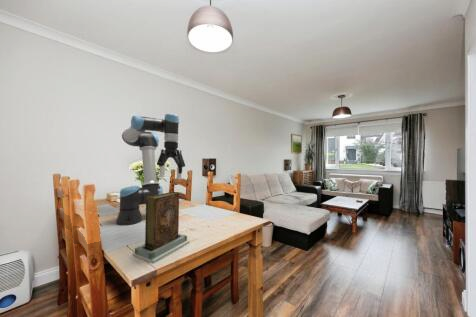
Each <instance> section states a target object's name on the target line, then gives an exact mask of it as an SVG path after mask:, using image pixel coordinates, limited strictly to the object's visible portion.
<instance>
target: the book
mask: <svg viewBox="0 0 476 317" xmlns="http://www.w3.org/2000/svg"><path fill="white" fill-rule="evenodd" d="M179 213H180V192H176V191H171V192H170V191H169V192H166V193H164V192H163V194H159V195H155V196H150V197H147V198H146V204H145V229H144V231H145V233H144V235H145V236H144V237H145V238H144V244H145V249H146V250H149V251H153V250H155V249H157V248H159V247H161V246H163V245H165V244H167V243H169V242H171V241H173V240H175V239H177V238H178V234H179V226H180V225H179V223H180V222H179V219H180V218H179V217H180V215H179Z"/></svg>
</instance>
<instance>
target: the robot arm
mask: <svg viewBox="0 0 476 317" xmlns="http://www.w3.org/2000/svg"><path fill="white" fill-rule="evenodd" d="M179 124H180V121H179V115H177V114H176V113H175V114H174V113H166V114H164V119H162V118H157V117H156V118H155V117H148V116H141V115H133V116H132V117H131V120H130V126H129V128H126V129H125V130H124V131H123V132H122V135H121V139H122V140H123V142H124V143H125V144H127V145H129V146H132V147H139V150H140V151H141V155H142V158H141V159H142V173H143V183H142V184H141V187H140V186H139V185H132V186H127V187H126V186H125V187H124V188H121V190H120V191H119V212H118V214H117V217H116V220H115V221H116V225H119V226H128V225H129V226H130V225H134V224H138V223H141V222H142V220H143V216H142V212H141V210H140V205H146V198H147V197H150V196H155V195H159V194H164V190H163V186H161V185H160V183H159V182H158V179H157V167H156V165H158V167H159V178H165V172H166V171H165V169H166V168H165V167H166V166H165V164H166V162H167V161H168V159H169V158H172V159H173V161H174V162H175V164H176V166H177V167H176V180H182V174H183V168H184V167H186V163H185V160H184V157H183V154H182V150H181V149H178V148H179V142H178V141H179ZM156 132H159V133H164V139H163V140H164V142H163V148H165V149H160V154H159V156H158V160H157V162H156V155H155V151H156V150H157V148H158V147H159V142H160V141H159V137H158V134H157V133H156Z"/></svg>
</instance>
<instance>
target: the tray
mask: <svg viewBox="0 0 476 317" xmlns="http://www.w3.org/2000/svg"><path fill="white" fill-rule="evenodd" d="M189 244H190V240H188V235H185V234H181V233H178V238H177V239H175V240H173V241H171V242H169V243H167V244H165V245H163V246H161V247H159V248H157V249H155V250H153V251H149V250H146V249H145V243H144V244H141V245H140V246H139V245H138V246H137V247H134V252H132V253H131V256H134V257H136V258H139V259H141V260H144V261H147V262H150V263H153V264H155V263H157V262H159V261H160V260H162V259H164V258H165V257H167V256H169V255H171V254H173V253H174V252H176V251H178V250H180V249H181V248H183V247H185V246H187V245H189Z"/></svg>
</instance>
